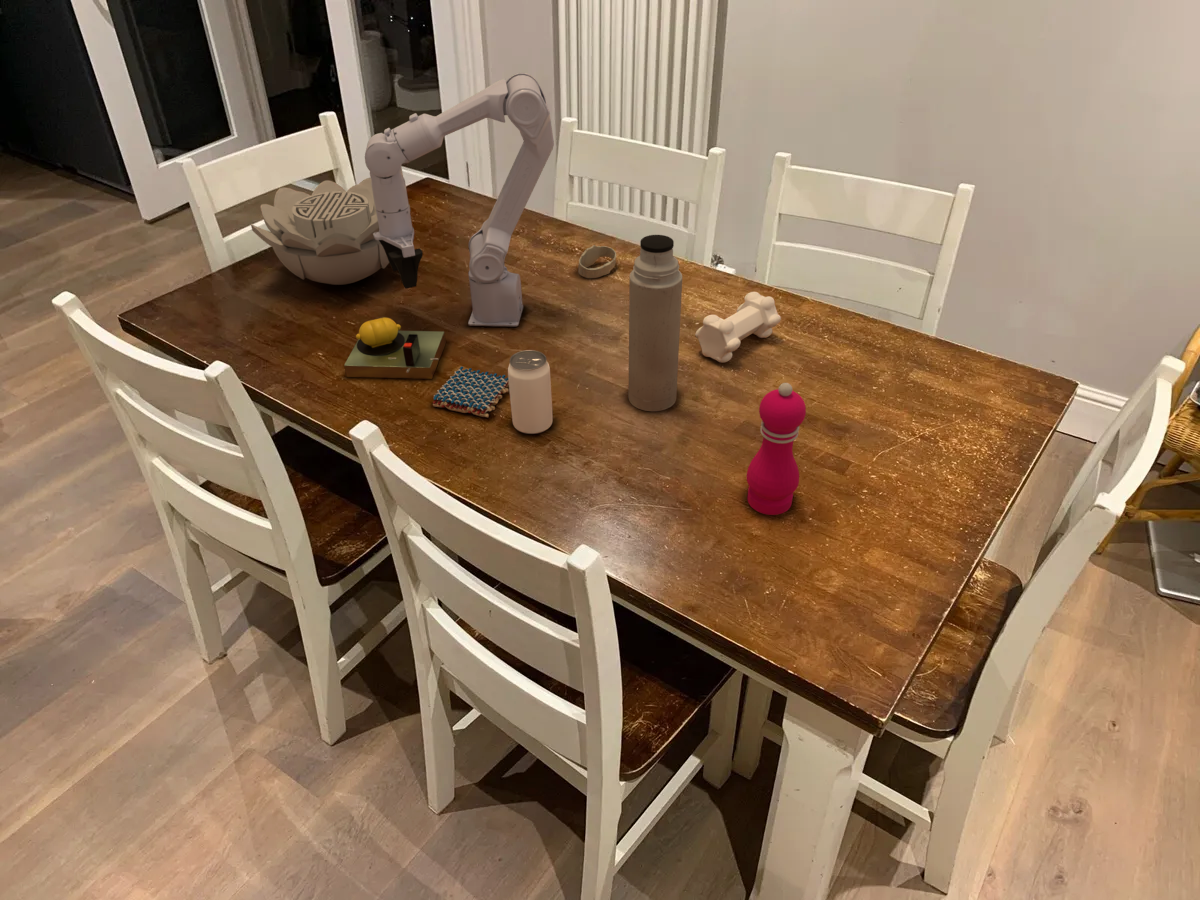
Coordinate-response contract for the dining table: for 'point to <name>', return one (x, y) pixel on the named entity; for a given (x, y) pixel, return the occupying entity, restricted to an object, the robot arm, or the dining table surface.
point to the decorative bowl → (325, 232)
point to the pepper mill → (776, 452)
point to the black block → (411, 349)
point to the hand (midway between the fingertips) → (404, 278)
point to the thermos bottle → (654, 325)
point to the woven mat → (471, 392)
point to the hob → (399, 359)
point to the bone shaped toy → (737, 326)
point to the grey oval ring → (590, 258)
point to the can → (530, 392)
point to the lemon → (378, 332)
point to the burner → (382, 347)
